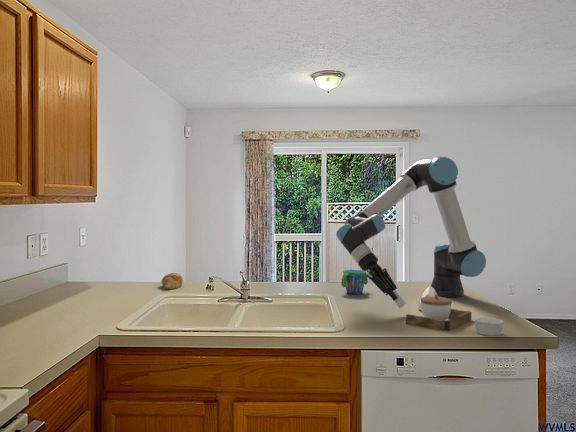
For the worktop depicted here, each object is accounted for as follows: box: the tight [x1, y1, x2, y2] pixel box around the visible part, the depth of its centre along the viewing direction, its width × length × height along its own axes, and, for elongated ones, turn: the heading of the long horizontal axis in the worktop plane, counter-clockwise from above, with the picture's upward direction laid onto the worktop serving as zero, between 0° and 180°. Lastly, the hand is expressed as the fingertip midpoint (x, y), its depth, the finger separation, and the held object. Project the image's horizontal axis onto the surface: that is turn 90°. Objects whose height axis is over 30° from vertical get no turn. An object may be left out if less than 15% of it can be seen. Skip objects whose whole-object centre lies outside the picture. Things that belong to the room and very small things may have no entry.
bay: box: [405, 308, 472, 332], centre depth 179 cm, size 16×21×3 cm
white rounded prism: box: [417, 285, 437, 312], centre depth 206 cm, size 7×7×24 cm
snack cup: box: [340, 269, 369, 295], centre depth 233 cm, size 16×10×10 cm
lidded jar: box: [420, 295, 453, 321], centre depth 181 cm, size 11×11×9 cm
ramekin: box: [474, 316, 504, 337], centre depth 165 cm, size 9×9×4 cm
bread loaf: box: [161, 272, 184, 290], centre depth 244 cm, size 21×10×8 cm, turn 2°
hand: (402, 305), depth 188 cm, fingers closed
